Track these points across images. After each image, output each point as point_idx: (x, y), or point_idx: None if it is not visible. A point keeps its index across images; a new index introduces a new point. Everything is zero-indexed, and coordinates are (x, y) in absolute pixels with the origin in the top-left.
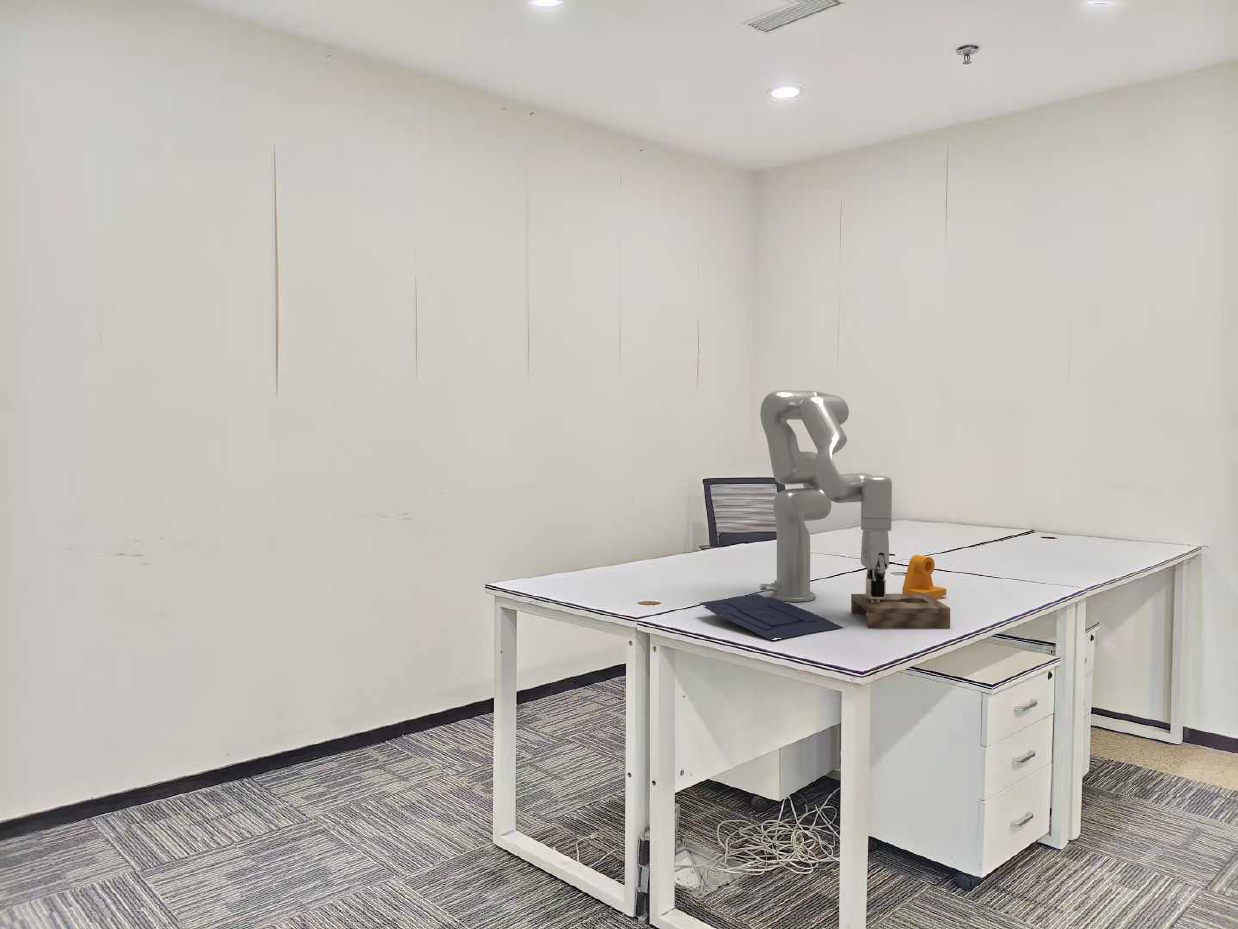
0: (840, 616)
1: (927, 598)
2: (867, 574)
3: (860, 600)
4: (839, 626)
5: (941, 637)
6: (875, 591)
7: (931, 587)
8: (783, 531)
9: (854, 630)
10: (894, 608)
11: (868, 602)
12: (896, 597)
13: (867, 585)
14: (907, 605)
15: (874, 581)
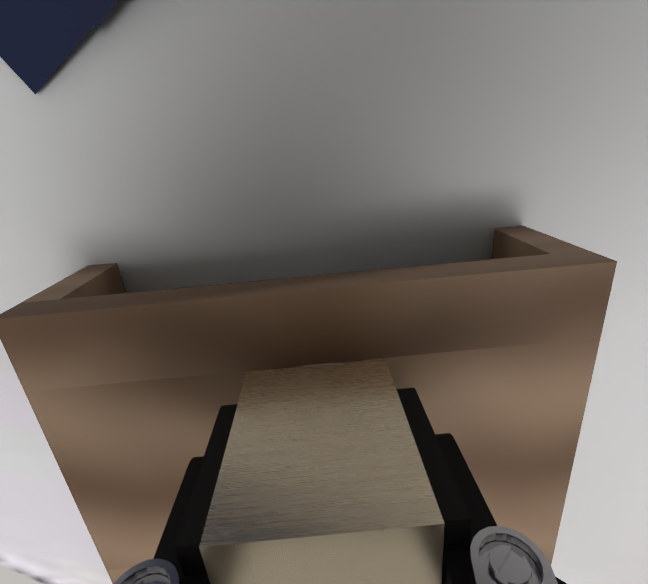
0: (412, 133)
1: None
2: (510, 577)
3: (320, 297)
4: (35, 61)
5: (10, 533)
6: (198, 467)
7: None
8: None
9: (2, 165)
10: (67, 479)
11: (242, 347)
12: None
13: (335, 445)
14: None
15: (132, 575)
